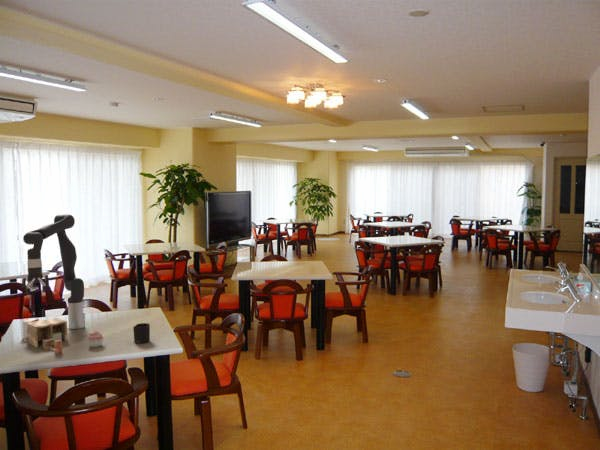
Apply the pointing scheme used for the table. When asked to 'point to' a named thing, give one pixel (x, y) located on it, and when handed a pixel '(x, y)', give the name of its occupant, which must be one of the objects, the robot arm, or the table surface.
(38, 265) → the robot arm
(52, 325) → the oak shelf
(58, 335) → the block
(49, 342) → the tethered block
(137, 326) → the pen holder
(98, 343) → the cupcake
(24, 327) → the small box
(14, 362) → the table surface
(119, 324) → the table surface
